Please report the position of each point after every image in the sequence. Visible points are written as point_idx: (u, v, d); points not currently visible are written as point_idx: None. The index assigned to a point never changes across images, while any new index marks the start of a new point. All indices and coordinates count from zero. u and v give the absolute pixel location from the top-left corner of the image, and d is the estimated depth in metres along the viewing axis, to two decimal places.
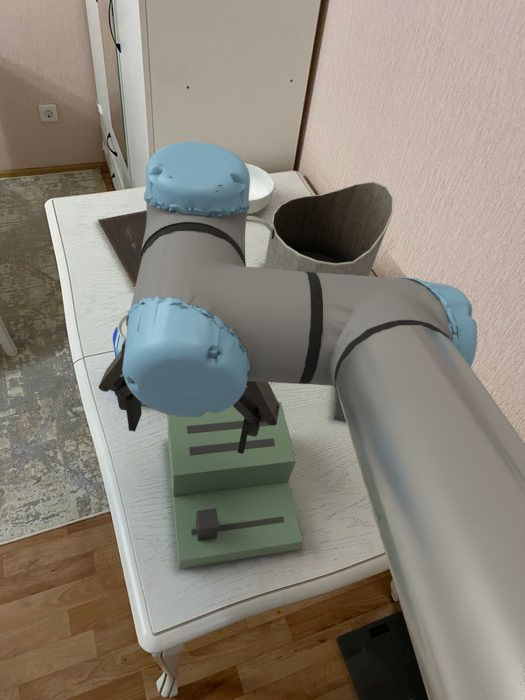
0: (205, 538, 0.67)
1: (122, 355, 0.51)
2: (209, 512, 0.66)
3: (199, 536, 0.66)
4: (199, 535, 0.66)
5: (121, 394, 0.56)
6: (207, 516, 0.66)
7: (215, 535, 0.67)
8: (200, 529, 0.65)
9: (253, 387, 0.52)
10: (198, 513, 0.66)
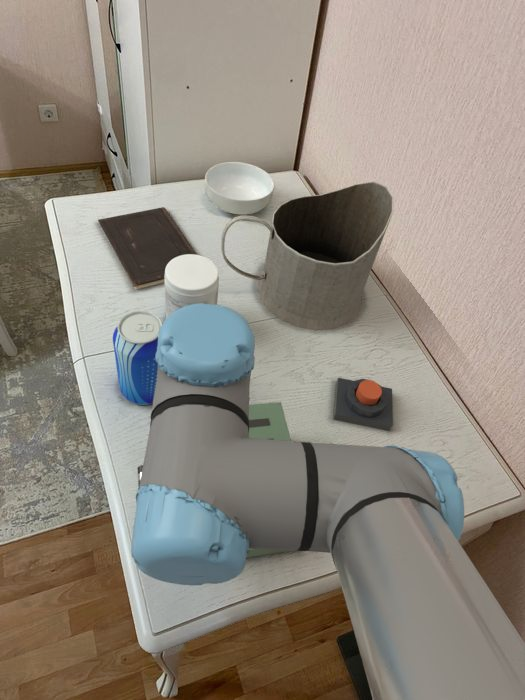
0: None
1: None
2: None
3: None
4: None
5: None
6: None
7: None
8: None
9: None
10: None
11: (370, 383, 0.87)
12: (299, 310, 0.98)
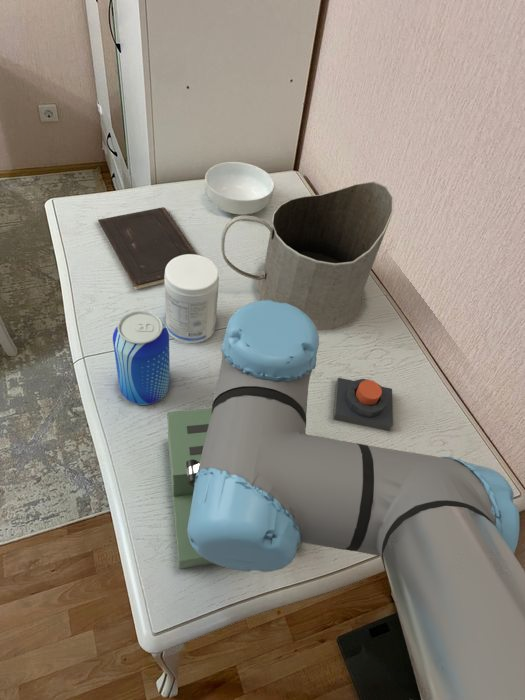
0: None
1: None
2: None
3: None
4: None
5: None
6: None
7: None
8: None
9: None
10: None
11: (370, 383, 0.87)
12: None
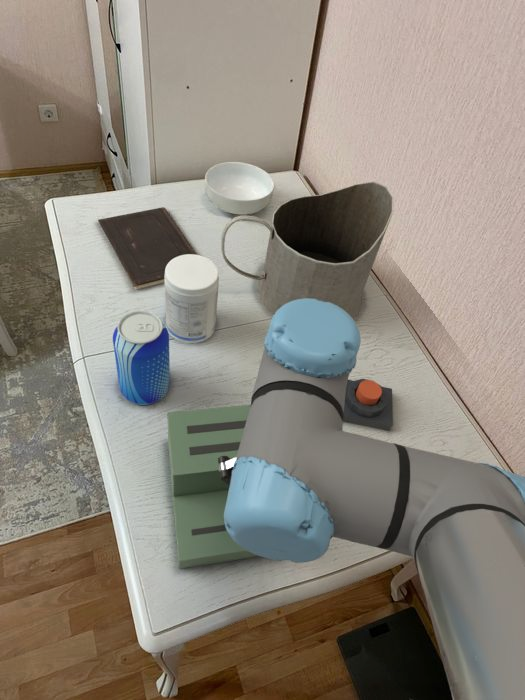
0: None
1: (228, 483, 0.56)
2: None
3: None
4: None
5: None
6: None
7: None
8: None
9: None
10: None
11: (370, 383, 0.87)
12: None
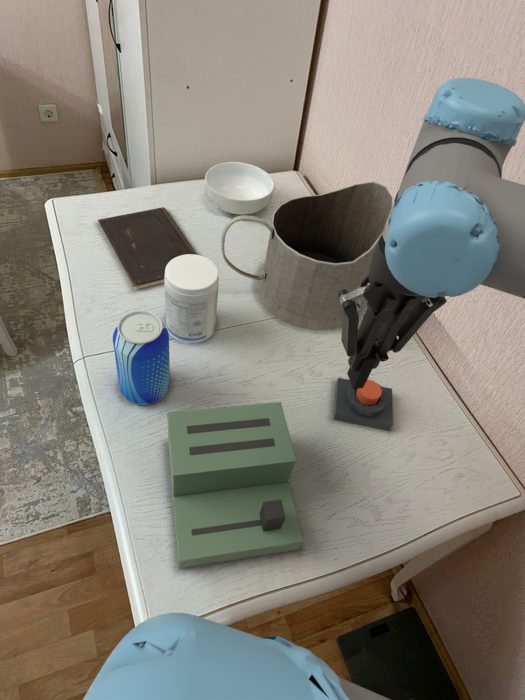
0: (270, 528, 0.69)
1: (349, 317, 0.56)
2: (275, 503, 0.68)
3: (265, 526, 0.68)
4: (266, 526, 0.68)
5: (364, 354, 0.63)
6: (273, 507, 0.68)
7: (280, 525, 0.69)
8: (268, 519, 0.67)
9: (426, 315, 0.59)
10: (265, 504, 0.68)
11: (370, 383, 0.87)
12: (299, 310, 0.98)
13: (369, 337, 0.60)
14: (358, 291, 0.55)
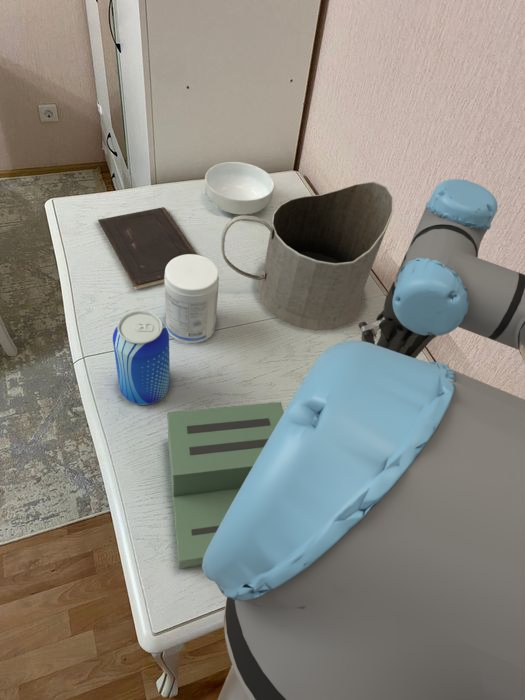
0: None
1: None
2: None
3: None
4: None
5: None
6: None
7: None
8: None
9: (427, 341, 0.76)
10: None
11: None
12: (299, 310, 0.98)
13: None
14: (375, 324, 0.72)
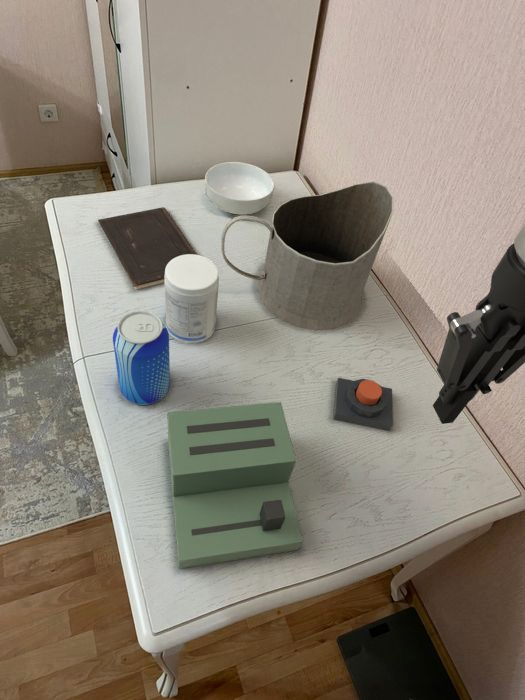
0: (270, 528, 0.69)
1: (461, 344, 0.48)
2: (275, 503, 0.68)
3: (265, 526, 0.68)
4: (266, 526, 0.68)
5: (465, 386, 0.55)
6: (273, 507, 0.68)
7: (280, 525, 0.69)
8: (268, 519, 0.67)
9: None
10: (265, 504, 0.68)
11: (370, 383, 0.87)
12: (299, 310, 0.98)
13: (475, 367, 0.52)
14: (475, 315, 0.47)
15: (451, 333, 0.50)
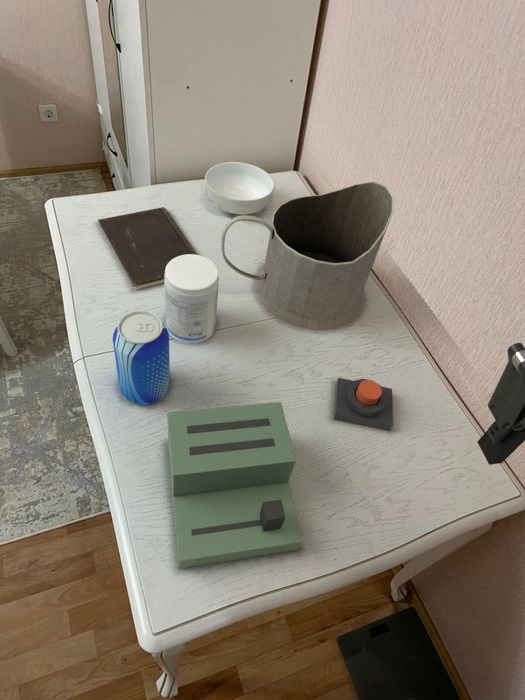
0: (270, 528, 0.69)
1: (524, 382, 0.40)
2: (275, 503, 0.68)
3: (265, 526, 0.68)
4: (266, 526, 0.68)
5: (522, 425, 0.46)
6: (273, 507, 0.68)
7: (280, 525, 0.69)
8: (268, 519, 0.67)
9: None
10: (265, 504, 0.68)
11: (370, 383, 0.87)
12: (299, 310, 0.98)
13: None
14: None
15: (511, 367, 0.41)
